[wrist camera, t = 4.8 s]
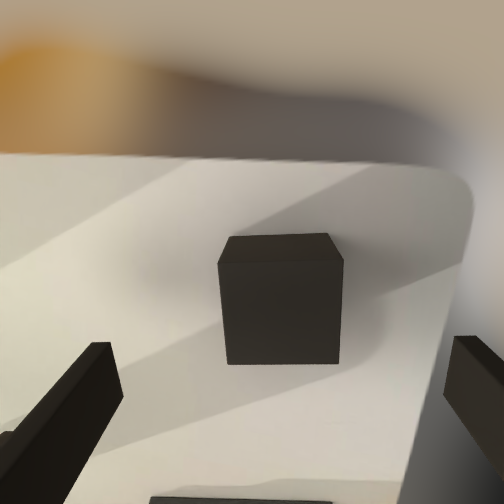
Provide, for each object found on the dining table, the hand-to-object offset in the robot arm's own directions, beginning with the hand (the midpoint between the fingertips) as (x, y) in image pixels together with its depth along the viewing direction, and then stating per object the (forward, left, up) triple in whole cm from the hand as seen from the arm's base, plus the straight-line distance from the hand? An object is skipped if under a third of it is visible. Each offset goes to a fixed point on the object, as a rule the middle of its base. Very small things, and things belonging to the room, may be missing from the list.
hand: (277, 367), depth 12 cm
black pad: (0, 0, -8) cm, 8 cm away
